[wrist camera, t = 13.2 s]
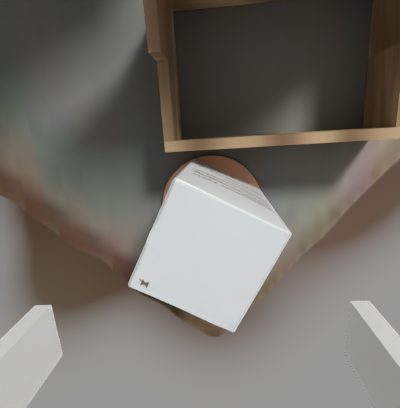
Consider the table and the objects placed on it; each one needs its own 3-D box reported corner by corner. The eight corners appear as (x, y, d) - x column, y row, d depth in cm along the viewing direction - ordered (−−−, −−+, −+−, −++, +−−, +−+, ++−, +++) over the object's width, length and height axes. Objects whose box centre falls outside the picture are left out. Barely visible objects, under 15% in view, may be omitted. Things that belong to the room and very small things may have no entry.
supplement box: (228, 252, 35) (234, 339, 20) (163, 222, 34) (122, 289, 20) (263, 188, 33) (297, 235, 18) (193, 155, 32) (171, 176, 18)
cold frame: (174, 148, 33) (158, 154, 24) (162, 1, 29) (137, -54, 20) (371, 136, 31) (430, 139, 22) (385, -22, 27) (463, -94, 18)
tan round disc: (168, 251, 36) (167, 253, 36) (158, 158, 33) (157, 158, 33) (262, 248, 35) (262, 250, 34) (261, 152, 32) (262, 152, 32)
